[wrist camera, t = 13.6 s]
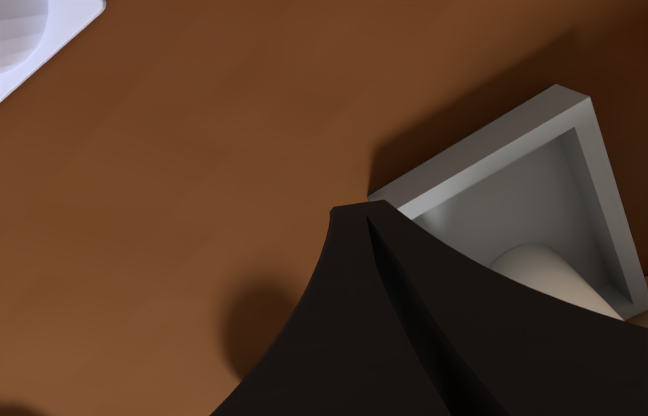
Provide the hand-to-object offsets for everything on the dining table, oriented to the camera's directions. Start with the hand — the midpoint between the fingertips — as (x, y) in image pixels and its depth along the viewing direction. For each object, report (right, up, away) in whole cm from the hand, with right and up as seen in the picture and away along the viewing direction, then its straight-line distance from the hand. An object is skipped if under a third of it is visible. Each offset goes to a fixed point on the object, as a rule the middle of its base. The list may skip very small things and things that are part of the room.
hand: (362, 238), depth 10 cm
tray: (+9, -1, +13) cm, 16 cm away
